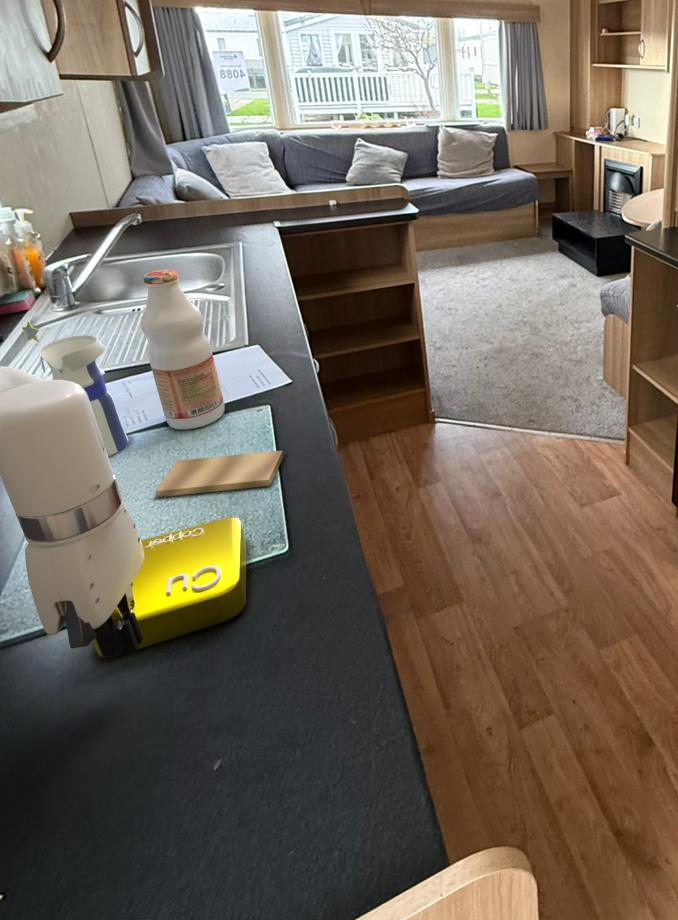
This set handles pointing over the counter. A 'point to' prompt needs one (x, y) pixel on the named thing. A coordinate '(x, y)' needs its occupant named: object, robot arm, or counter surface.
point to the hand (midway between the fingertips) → (123, 648)
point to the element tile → (189, 580)
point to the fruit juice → (180, 354)
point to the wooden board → (220, 473)
